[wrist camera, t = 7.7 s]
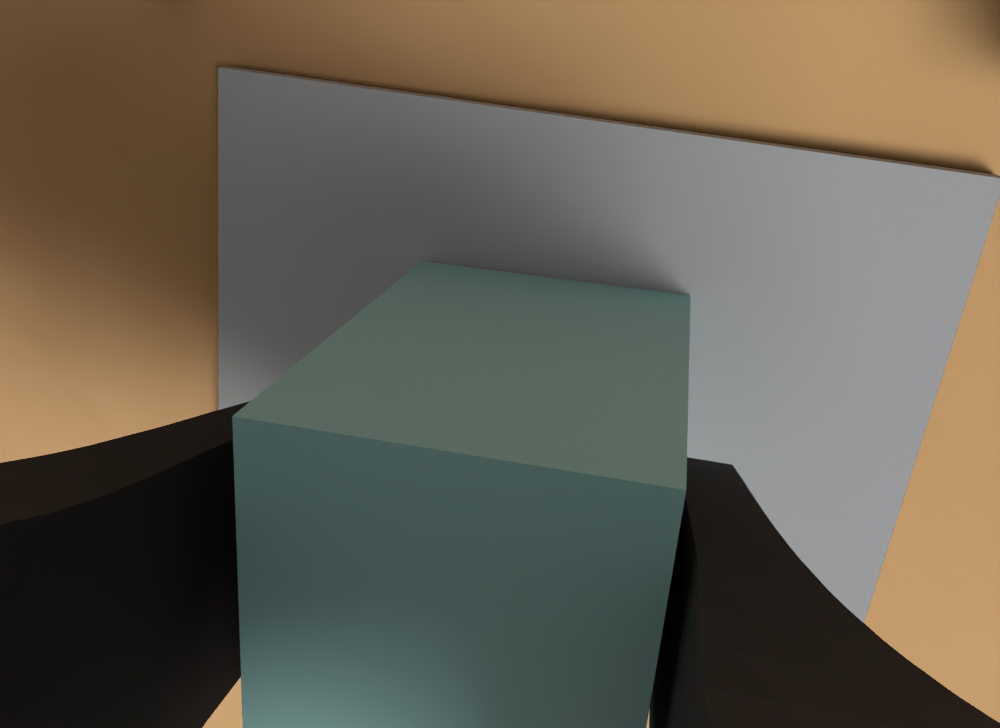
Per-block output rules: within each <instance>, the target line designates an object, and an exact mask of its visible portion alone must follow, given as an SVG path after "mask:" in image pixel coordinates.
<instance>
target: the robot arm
mask: <svg viewBox="0 0 1000 728" xmlns="http://www.w3.org/2000/svg"><path fill="white" fill-rule="evenodd" d="M249 402H250V401H249ZM249 402H245V403H242V404H238V405H234V406H231V407H228V408H224V409H221V410H217V411H214V412H210V413H207V414H204V415H200V416H197V417H193V418H190V419H187V420H183V421H180V422H176V423H173V424H170V425H166V426H163V427H159V428H155V429H151V430H147V431H144V432H140V433H136V434H132V435H128V436H124V437H121V438H117V439H113V440H109V441H105V442H101V443H98V444H94V445H90V446H86V447H81V448H77V449H72V450H68V451H63V452H58V453H53V454H48V455H43V456H38V457H32V458H26V459H21V460H15V461H10V462H4V463H0V728H202V727H203V726H204V724H205V723H206V721H207V720H208V719H209V717H210V716H211V715H212V713H213V712H214V711H215V710H216V708H217V707H218V706H219V704H220V703H221V702H222V700H223V699H224V698H225V696H226V695H227V694H228V693H229V691H230V690H231V689H232V687H233V686H234V685H235V683H236V682H237V681H238V679H239V678H240V677H241V660H240V630H239V601H238V572H237V542H236V513H235V483H234V454H233V425H232V416H233V415H234V414H236V413H237V412H238V411H239V410H241V409H242V408H243V407H244V406H245V405H247V404H248V403H249ZM649 728H1000V723H999V722H997V721H995V720H994V719H992V718H990V717H989V716H987V715H986V714H984V713H983V712H981V711H980V710H978V709H977V708H975V707H974V706H972V705H971V704H969V703H968V702H966V701H964V700H963V699H961V698H960V697H958V696H957V695H955V694H954V693H952V692H951V691H950V690H948V689H947V688H946V687H944V686H943V685H941V684H940V683H939V682H937V681H936V680H935V679H933V678H932V677H930V676H929V675H928V674H926V673H925V672H924V671H922V670H921V669H920V668H918V667H917V666H915V665H914V664H913V663H911V662H910V661H909V660H907V659H906V658H905V657H903V656H902V655H901V654H900V653H898V652H897V651H896V650H895V649H893V648H892V647H891V646H890V645H888V644H887V643H886V642H885V641H883V640H882V639H881V638H880V637H879V636H878V635H876V634H875V633H874V632H873V631H872V630H871V629H870V628H869V627H868V626H866V625H865V624H864V623H863V622H862V621H861V620H860V619H859V618H857V617H856V616H855V615H854V614H853V613H852V612H851V611H850V610H849V609H847V608H846V607H845V606H844V605H843V604H842V603H841V602H840V601H839V600H838V599H837V598H836V597H835V596H834V595H833V594H832V593H831V592H830V591H829V590H828V589H827V588H826V587H825V586H824V585H823V584H822V583H821V581H820V580H819V579H818V578H817V577H816V576H815V575H814V574H813V573H812V572H811V570H810V569H809V568H808V567H807V566H806V565H805V564H804V563H803V562H802V561H801V560H800V558H799V557H798V556H797V555H796V554H795V552H794V551H793V550H792V549H791V548H790V546H789V545H788V544H787V542H786V541H785V540H784V538H783V537H782V536H781V535H780V533H779V532H778V531H777V529H776V528H775V527H774V525H773V524H772V522H771V521H770V520H769V518H768V517H767V515H766V514H765V513H764V511H763V510H762V508H761V507H760V505H759V504H758V502H757V501H756V499H755V498H754V496H753V495H752V493H751V492H750V490H749V488H748V487H747V485H746V484H745V482H744V481H743V479H742V478H741V476H740V475H739V473H738V472H737V470H736V469H735V468H734V466H733V465H732V464H726V463H720V462H714V461H707V460H701V459H695V458H689V457H687V482H686V495H685V501H684V507H683V513H682V518H681V524H680V530H679V536H678V542H677V548H676V554H675V560H674V566H673V571H672V577H671V583H670V589H669V595H668V601H667V607H666V613H665V619H664V624H663V630H662V636H661V642H660V648H659V654H658V660H657V666H656V672H655V678H654V683H653V689H652V695H651V701H650V719H649Z"/></svg>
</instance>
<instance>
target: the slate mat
mask: <svg viewBox="0 0 1000 728" xmlns="http://www.w3.org/2000/svg"><path fill="white" fill-rule="evenodd" d="M999 196H1000V176H998V175H996V174H989V173H982V172H975V171H968V170H961V169H954V168H947V167H940V166H932V165H925V164H918V163H911V162H904V161H897V160H890V159H883V158H876V157H869V156H862V155H854V154H847V153H840V152H833V151H826V150H819V149H812V148H805V147H798V146H791V145H784V144H776V143H769V142H762V141H755V140H748V139H741V138H734V137H727V136H720V135H713V134H706V133H698V132H691V131H684V130H677V129H670V128H663V127H656V126H649V125H642V124H635V123H627V122H620V121H613V120H606V119H599V118H592V117H585V116H578V115H571V114H564V113H557V112H549V111H542V110H535V109H528V108H521V107H514V106H507V105H500V104H493V103H486V102H479V101H471V100H464V99H457V98H450V97H443V96H436V95H429V94H422V93H415V92H408V91H401V90H393V89H386V88H379V87H372V86H365V85H358V84H351V83H344V82H337V81H330V80H323V79H315V78H308V77H301V76H294V75H287V74H280V73H273V72H266V71H259V70H252V69H244V68H237V67H218V410H221V409H224V408H228V407H231V406H234V405H238V404H242V403H245V402H249V401H251V400H253V399H254V398H255V397H256V396H258V395H259V394H260V393H261V392H262V391H264V390H265V389H266V388H267V387H269V386H270V385H271V384H272V383H273V382H275V381H276V380H277V379H278V378H280V377H281V376H282V375H283V374H284V373H286V372H287V371H288V370H289V369H291V368H292V367H293V366H294V365H295V364H297V363H298V362H299V361H300V360H302V359H303V358H304V357H305V356H306V355H308V354H309V353H310V352H311V351H313V350H314V349H315V348H316V347H317V346H319V345H320V344H321V343H322V342H324V341H325V340H326V339H327V338H328V337H330V336H331V335H332V334H333V333H335V332H336V331H337V330H338V329H339V328H341V327H342V326H343V325H344V324H346V323H347V322H348V321H349V320H350V319H352V318H353V317H354V316H355V315H357V314H358V313H359V312H360V311H361V310H363V309H364V308H365V307H366V306H368V305H369V304H370V303H371V302H372V301H374V300H375V299H376V298H377V297H379V296H380V295H381V294H382V293H383V292H385V291H386V290H387V289H388V288H390V287H391V286H392V285H393V284H394V283H396V282H397V281H398V280H399V279H401V278H402V277H403V276H404V275H405V274H407V273H408V272H409V271H410V270H412V269H413V268H414V267H415V266H416V265H418V264H419V263H420V262H421V261H426V262H434V263H441V264H449V265H457V266H465V267H473V268H481V269H489V270H496V271H504V272H512V273H520V274H528V275H536V276H544V277H551V278H559V279H567V280H575V281H583V282H591V283H599V284H606V285H614V286H622V287H630V288H638V289H646V290H653V291H661V292H669V293H677V294H685V295H691V298H690V344H689V390H688V436H687V457H689V458H695V459H701V460H707V461H714V462H720V463H726V464H732V465H733V466H734V468H735V469H736V470H737V472H738V473H739V475H740V476H741V478H742V479H743V481H744V482H745V484H746V485H747V487H748V488H749V490H750V492H751V493H752V495H753V496H754V498H755V499H756V501H757V502H758V504H759V505H760V507H761V508H762V510H763V511H764V513H765V514H766V515H767V517H768V518H769V520H770V521H771V522H772V524H773V525H774V527H775V528H776V529H777V531H778V532H779V533H780V535H781V536H782V537H783V538H784V540H785V541H786V542H787V544H788V545H789V546H790V548H791V549H792V550H793V551H794V552H795V554H796V555H797V556H798V557H799V558H800V560H801V561H802V562H803V563H804V564H805V565H806V566H807V567H808V568H809V569H810V570H811V572H812V573H813V574H814V575H815V576H816V577H817V578H818V579H819V580H820V581H821V583H822V584H823V585H824V586H825V587H826V588H827V589H828V590H829V591H830V592H831V593H832V594H833V595H834V596H835V597H836V598H837V599H838V600H839V601H840V602H841V603H842V604H843V605H844V606H845V607H846V608H847V609H849V610H850V611H851V612H852V613H853V614H854V615H855V616H856V617H857V618H859V619H860V620H861V621H862V622H863V623H864V621H865V618H866V615H867V612H868V608H869V605H870V602H871V599H872V596H873V593H874V590H875V586H876V583H877V580H878V577H879V574H880V571H881V568H882V564H883V561H884V558H885V555H886V552H887V549H888V545H889V542H890V539H891V536H892V533H893V530H894V527H895V523H896V520H897V517H898V514H899V511H900V508H901V505H902V501H903V498H904V495H905V492H906V489H907V486H908V483H909V479H910V476H911V473H912V470H913V467H914V464H915V460H916V457H917V454H918V451H919V448H920V445H921V442H922V438H923V435H924V432H925V429H926V426H927V423H928V420H929V416H930V413H931V410H932V407H933V404H934V401H935V398H936V394H937V391H938V388H939V385H940V382H941V379H942V375H943V372H944V369H945V366H946V363H947V360H948V357H949V353H950V350H951V347H952V344H953V341H954V338H955V335H956V331H957V328H958V325H959V322H960V319H961V316H962V313H963V309H964V306H965V303H966V300H967V297H968V294H969V290H970V287H971V284H972V281H973V278H974V275H975V272H976V268H977V265H978V262H979V259H980V256H981V253H982V250H983V246H984V243H985V240H986V237H987V234H988V231H989V227H990V224H991V221H992V218H993V215H994V212H995V209H996V205H997V202H998V199H999Z"/></svg>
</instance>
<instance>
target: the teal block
mask: <svg viewBox="0 0 1000 728" xmlns="http://www.w3.org/2000/svg"><path fill="white" fill-rule="evenodd" d="M690 298H691V295H685V294H677V293H669V292H661V291H653V290H646V289H638V288H630V287H622V286H614V285H606V284H599V283H591V282H583V281H575V280H567V279H559V278H551V277H544V276H536V275H528V274H520V273H512V272H504V271H496V270H489V269H481V268H473V267H465V266H457V265H449V264H441V263H434V262H426V261H421V262H420V263H419V264H418V265H416V266H415V267H414V268H413V269H412V270H410V271H409V272H408V273H407V274H405V275H404V276H403V277H402V278H401V279H399V280H398V281H397V282H396V283H394V284H393V285H392V286H391V287H390V288H388V289H387V290H386V291H385V292H383V293H382V294H381V295H380V296H379V297H377V298H376V299H375V300H374V301H372V302H371V303H370V304H369V305H368V306H366V307H365V308H364V309H363V310H361V311H360V312H359V313H358V314H357V315H355V316H354V317H353V318H352V319H350V320H349V321H348V322H347V323H346V324H344V325H343V326H342V327H341V328H339V329H338V330H337V331H336V332H335V333H333V334H332V335H331V336H330V337H328V338H327V339H326V340H325V341H324V342H322V343H321V344H320V345H319V346H317V347H316V348H315V349H314V350H313V351H311V352H310V353H309V354H308V355H306V356H305V357H304V358H303V359H302V360H300V361H299V362H298V363H297V364H295V365H294V366H293V367H292V368H291V369H289V370H288V371H287V372H286V373H284V374H283V375H282V376H281V377H280V378H278V379H277V380H276V381H275V382H273V383H272V384H271V385H270V386H269V387H267V388H266V389H265V390H264V391H262V392H261V393H260V394H259V395H258V396H256V397H255V398H254V399H253V400H251V401H250V402H249V403H248V404H247V405H245V406H244V407H243V408H242V409H241V410H239V411H238V412H237V413H236V414H234V415H233V416H232V425H233V454H234V483H235V513H236V542H237V572H238V601H239V630H240V660H241V689H242V719H243V728H646V725H647V719H648V713H649V707H650V701H651V695H652V689H653V683H654V678H655V672H656V666H657V660H658V654H659V648H660V642H661V636H662V630H663V624H664V619H665V613H666V607H667V601H668V595H669V589H670V583H671V577H672V571H673V566H674V560H675V554H676V548H677V542H678V536H679V530H680V524H681V518H682V513H683V507H684V501H685V495H686V482H687V436H688V390H689V344H690Z"/></svg>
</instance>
